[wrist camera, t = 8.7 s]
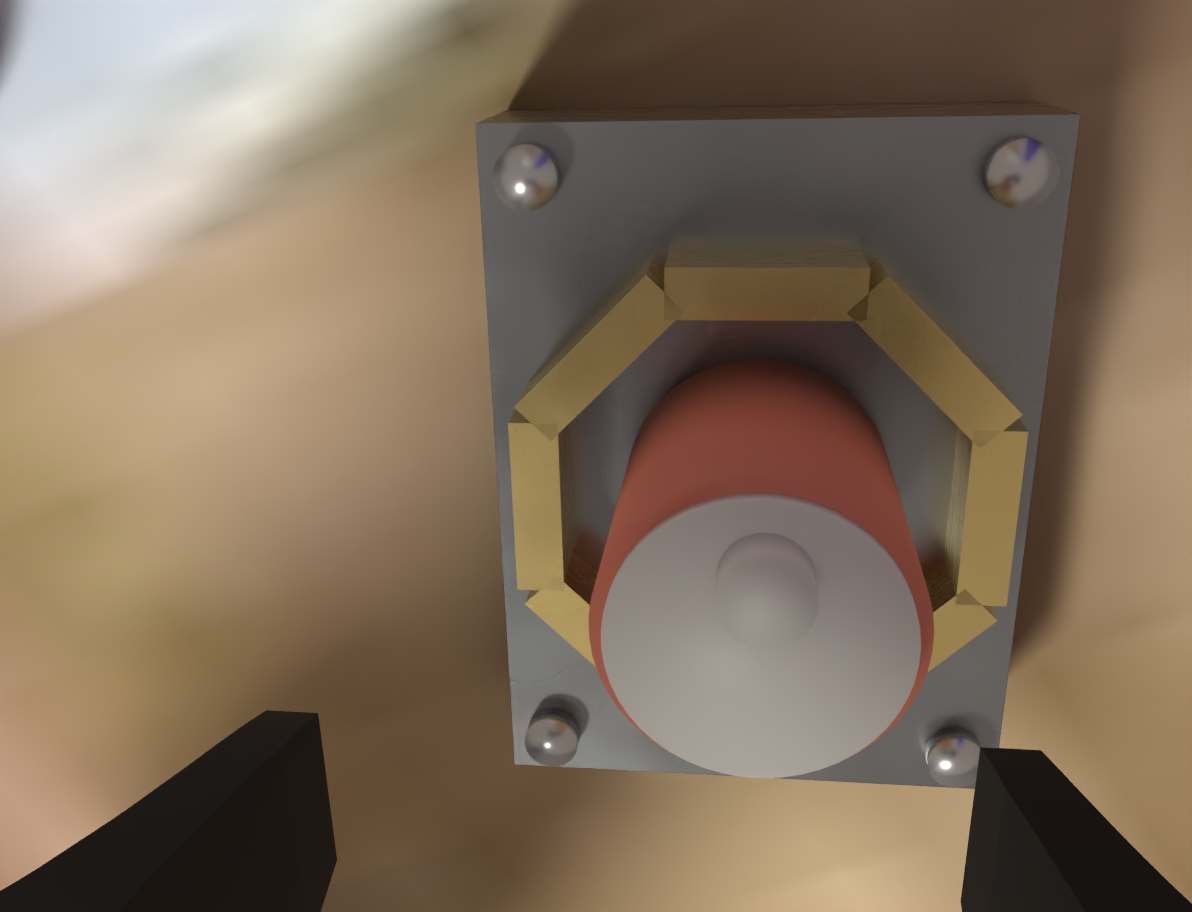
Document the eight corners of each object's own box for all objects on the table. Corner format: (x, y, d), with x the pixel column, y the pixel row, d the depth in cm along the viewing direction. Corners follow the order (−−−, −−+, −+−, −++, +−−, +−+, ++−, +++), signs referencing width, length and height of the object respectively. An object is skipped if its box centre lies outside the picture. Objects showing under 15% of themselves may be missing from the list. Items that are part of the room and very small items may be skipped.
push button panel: (967, 711, 23) (1007, 833, 20) (536, 692, 24) (502, 804, 21) (1037, 101, 19) (1104, 122, 15) (506, 110, 20) (457, 131, 16)
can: (870, 610, 20) (917, 845, 14) (621, 585, 20) (571, 803, 15) (907, 370, 18) (975, 529, 12) (634, 349, 18) (584, 494, 13)
